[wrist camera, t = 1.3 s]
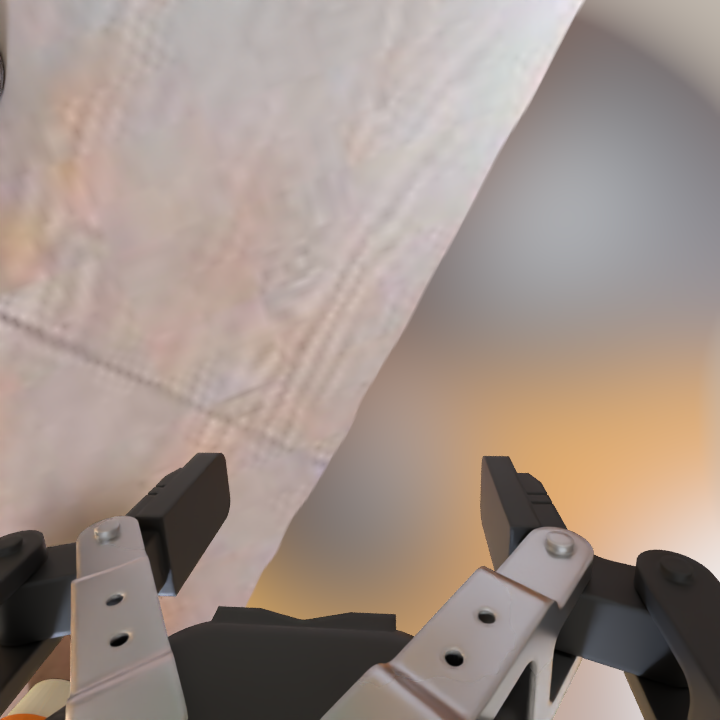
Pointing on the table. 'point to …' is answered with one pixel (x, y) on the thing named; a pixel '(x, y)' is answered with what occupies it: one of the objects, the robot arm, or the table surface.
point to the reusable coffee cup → (41, 700)
